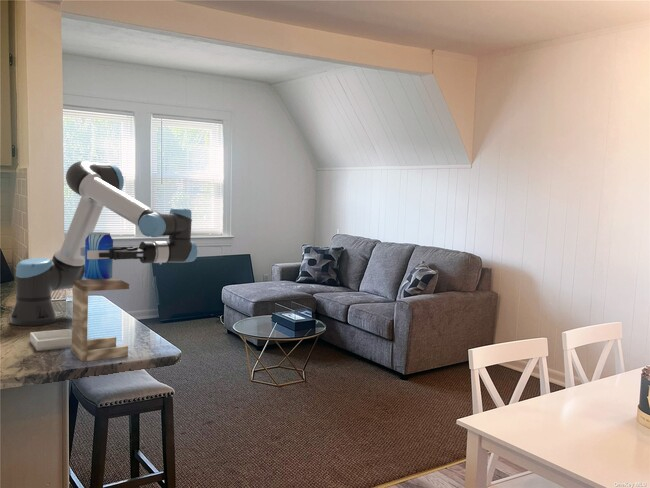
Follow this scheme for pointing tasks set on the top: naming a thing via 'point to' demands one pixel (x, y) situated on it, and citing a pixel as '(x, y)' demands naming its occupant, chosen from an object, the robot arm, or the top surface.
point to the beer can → (98, 266)
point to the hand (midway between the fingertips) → (83, 253)
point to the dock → (81, 319)
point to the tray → (51, 339)
